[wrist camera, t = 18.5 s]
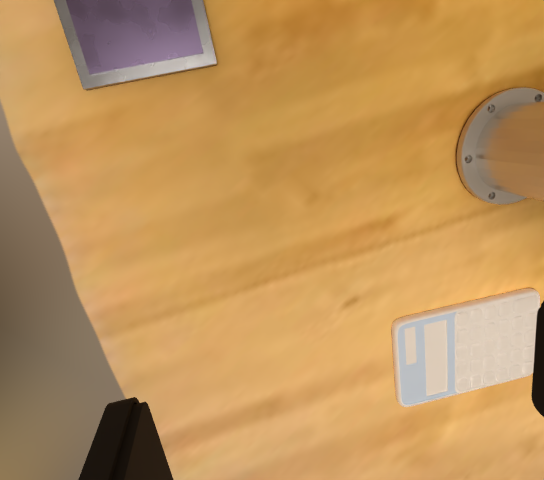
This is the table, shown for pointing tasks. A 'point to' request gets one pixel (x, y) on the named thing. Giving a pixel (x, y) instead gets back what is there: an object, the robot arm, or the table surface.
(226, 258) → the table surface
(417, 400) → the calculator
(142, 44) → the ink pad
